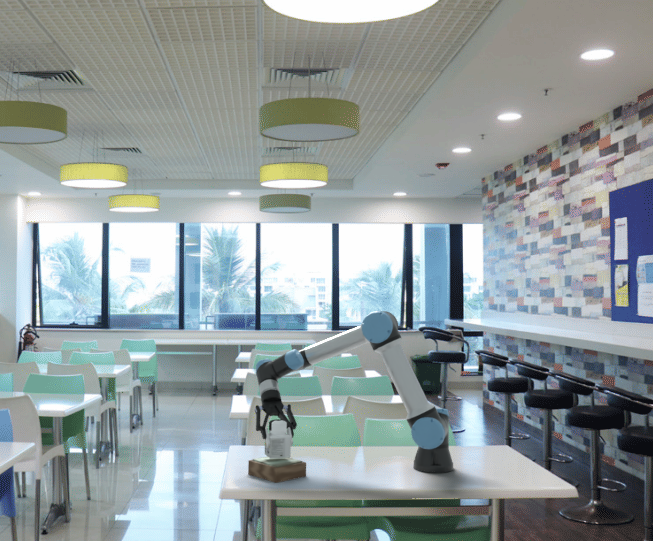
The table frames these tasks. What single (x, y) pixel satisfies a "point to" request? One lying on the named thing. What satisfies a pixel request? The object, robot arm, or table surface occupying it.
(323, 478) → the table surface
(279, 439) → the container
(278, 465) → the block
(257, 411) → the robot arm
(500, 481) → the table surface
